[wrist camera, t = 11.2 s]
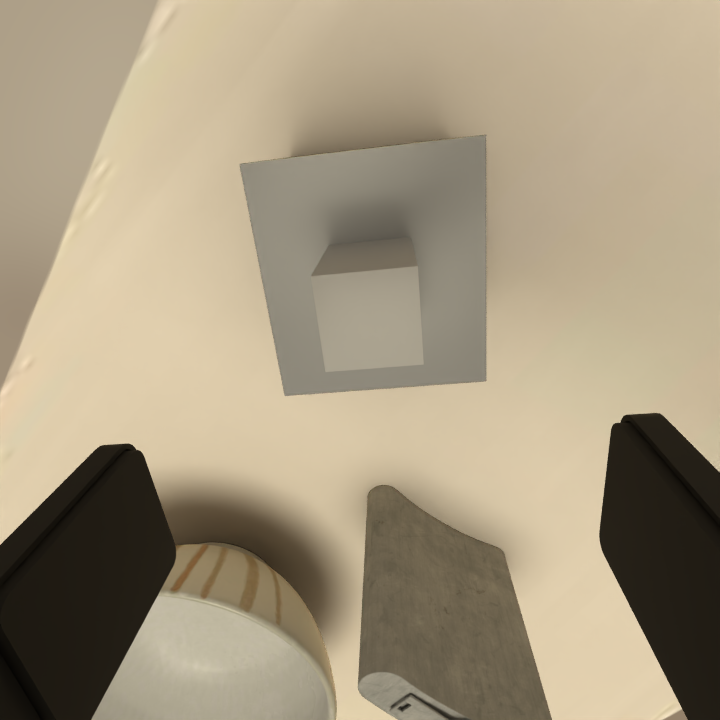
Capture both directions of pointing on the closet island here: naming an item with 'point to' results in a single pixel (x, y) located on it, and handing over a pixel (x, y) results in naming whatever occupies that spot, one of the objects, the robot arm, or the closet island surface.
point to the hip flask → (440, 622)
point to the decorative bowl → (223, 647)
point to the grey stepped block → (374, 264)
